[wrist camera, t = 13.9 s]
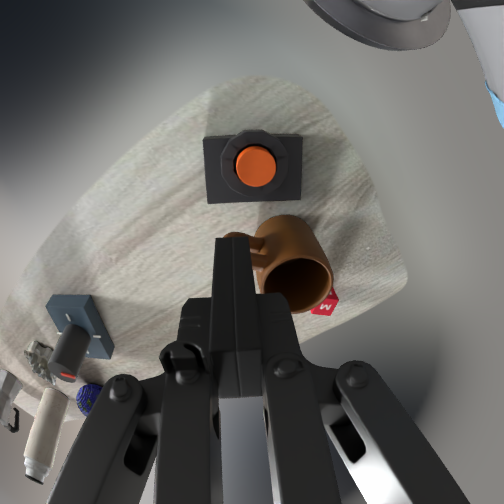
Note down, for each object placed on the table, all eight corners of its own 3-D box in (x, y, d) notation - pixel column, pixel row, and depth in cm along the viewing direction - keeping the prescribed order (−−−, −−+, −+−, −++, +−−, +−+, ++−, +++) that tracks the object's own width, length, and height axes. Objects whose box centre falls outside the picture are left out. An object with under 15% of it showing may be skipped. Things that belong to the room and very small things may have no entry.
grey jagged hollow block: (29, 336, 42) (22, 350, 39) (59, 351, 45) (52, 366, 41) (34, 361, 47) (28, 374, 43) (60, 375, 49) (54, 388, 46)
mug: (209, 238, 34) (203, 286, 26) (237, 184, 31) (240, 219, 23) (291, 274, 38) (306, 323, 30) (323, 228, 35) (350, 271, 27)
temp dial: (69, 342, 39) (53, 379, 32) (61, 321, 36) (42, 360, 29) (94, 347, 39) (79, 387, 32) (87, 326, 37) (69, 368, 30)
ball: (120, 393, 52) (113, 421, 46) (105, 400, 54) (99, 426, 48) (90, 375, 49) (81, 404, 42) (78, 384, 51) (69, 410, 44)
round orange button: (235, 146, 25) (235, 149, 24) (273, 145, 26) (276, 148, 24) (236, 182, 27) (237, 187, 26) (273, 180, 27) (276, 186, 26)
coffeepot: (-9, 364, 49) (-30, 409, 34) (2, 363, 48) (-20, 412, 33) (24, 395, 57) (8, 439, 42) (37, 396, 56) (21, 444, 41)
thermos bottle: (46, 395, 55) (23, 476, 31) (43, 383, 52) (15, 471, 28) (70, 406, 57) (50, 489, 33) (69, 395, 54) (45, 486, 30)
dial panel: (50, 294, 37) (42, 306, 34) (93, 294, 38) (86, 308, 35) (76, 344, 43) (71, 356, 41) (117, 346, 44) (113, 360, 41)
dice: (306, 300, 41) (311, 313, 38) (314, 283, 39) (319, 297, 37) (324, 302, 41) (330, 315, 39) (332, 286, 40) (339, 300, 37)
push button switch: (204, 130, 28) (200, 134, 24) (298, 127, 28) (307, 131, 25) (208, 197, 32) (206, 210, 28) (296, 193, 32) (304, 206, 29)
